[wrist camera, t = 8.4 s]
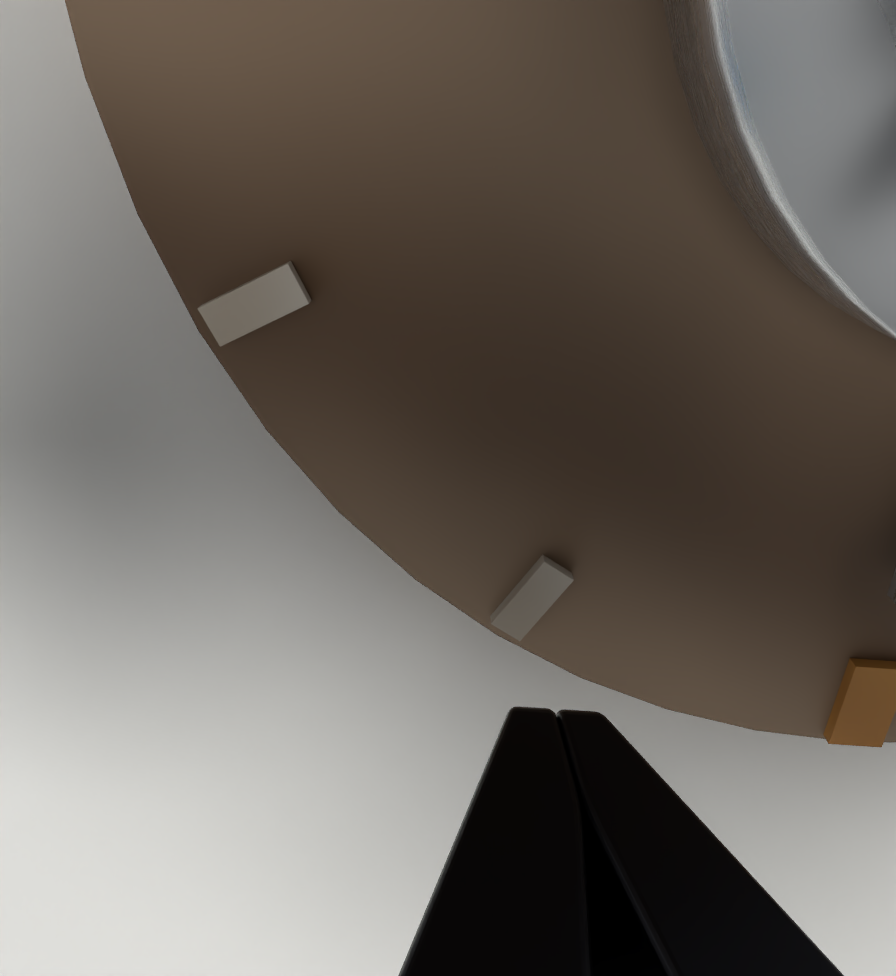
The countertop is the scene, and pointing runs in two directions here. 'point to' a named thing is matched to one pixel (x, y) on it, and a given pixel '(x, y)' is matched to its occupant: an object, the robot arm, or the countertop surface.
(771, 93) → the dial
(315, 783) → the countertop surface
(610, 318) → the dial base plate
